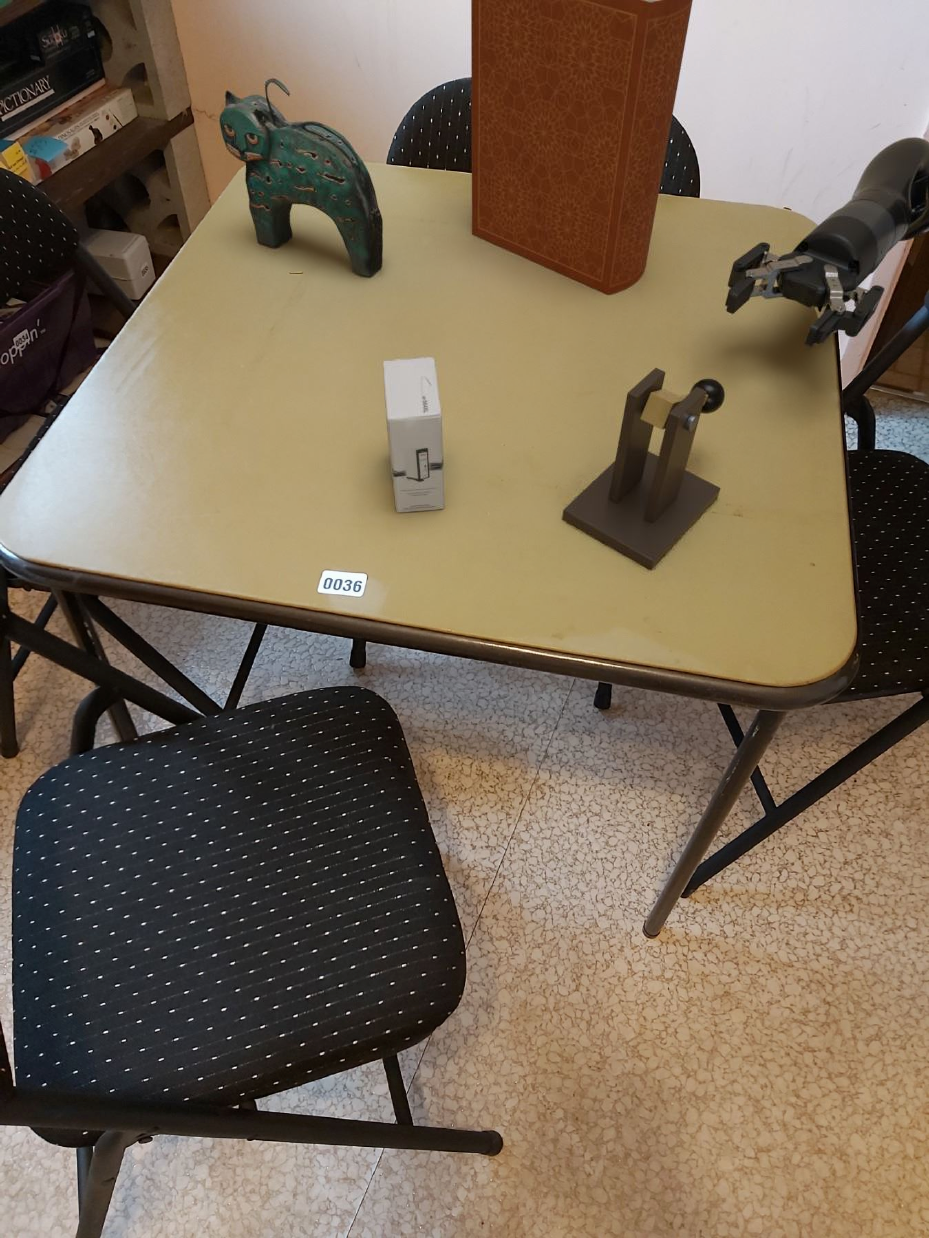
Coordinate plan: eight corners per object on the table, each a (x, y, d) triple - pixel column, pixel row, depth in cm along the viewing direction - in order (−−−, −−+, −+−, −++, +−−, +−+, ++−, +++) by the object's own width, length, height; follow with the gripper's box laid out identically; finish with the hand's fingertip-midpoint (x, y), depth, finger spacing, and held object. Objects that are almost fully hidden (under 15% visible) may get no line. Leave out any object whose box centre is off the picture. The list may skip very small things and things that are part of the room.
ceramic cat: (242, 244, 110) (202, 73, 94) (272, 221, 113) (239, 53, 97) (367, 286, 103) (348, 111, 87) (396, 261, 107) (382, 88, 91)
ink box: (390, 454, 85) (379, 356, 76) (438, 450, 86) (434, 352, 76) (395, 515, 80) (384, 418, 71) (446, 510, 81) (443, 414, 71)
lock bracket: (631, 452, 85) (654, 335, 74) (717, 497, 81) (756, 380, 70) (561, 519, 80) (576, 403, 69) (650, 570, 76) (681, 456, 65)
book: (471, 234, 111) (471, -46, 86) (510, 209, 114) (520, -66, 90) (615, 298, 102) (659, 5, 77) (652, 269, 105) (705, -19, 81)
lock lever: (691, 403, 81) (705, 371, 79) (720, 417, 80) (735, 385, 78) (633, 420, 71) (647, 385, 70) (665, 437, 70) (680, 401, 68)
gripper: (792, 194, 89) (714, 259, 81) (923, 240, 83) (852, 314, 76) (772, 260, 95) (697, 327, 87) (893, 307, 89) (824, 382, 82)
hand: (769, 321), depth 82 cm, fingers open, 8 cm apart
